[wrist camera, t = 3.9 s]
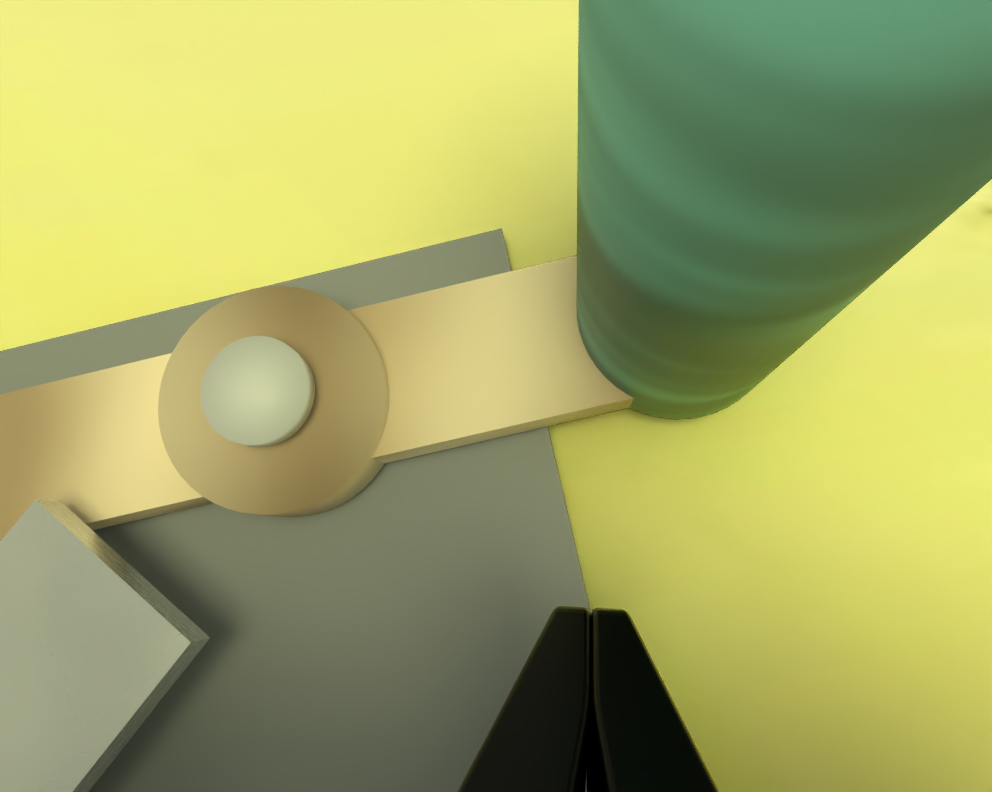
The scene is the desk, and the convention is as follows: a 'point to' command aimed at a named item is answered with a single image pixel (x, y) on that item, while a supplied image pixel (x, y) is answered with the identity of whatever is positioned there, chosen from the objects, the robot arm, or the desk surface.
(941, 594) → the desk surface
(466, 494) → the base plate
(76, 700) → the block
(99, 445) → the link
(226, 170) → the desk surface
